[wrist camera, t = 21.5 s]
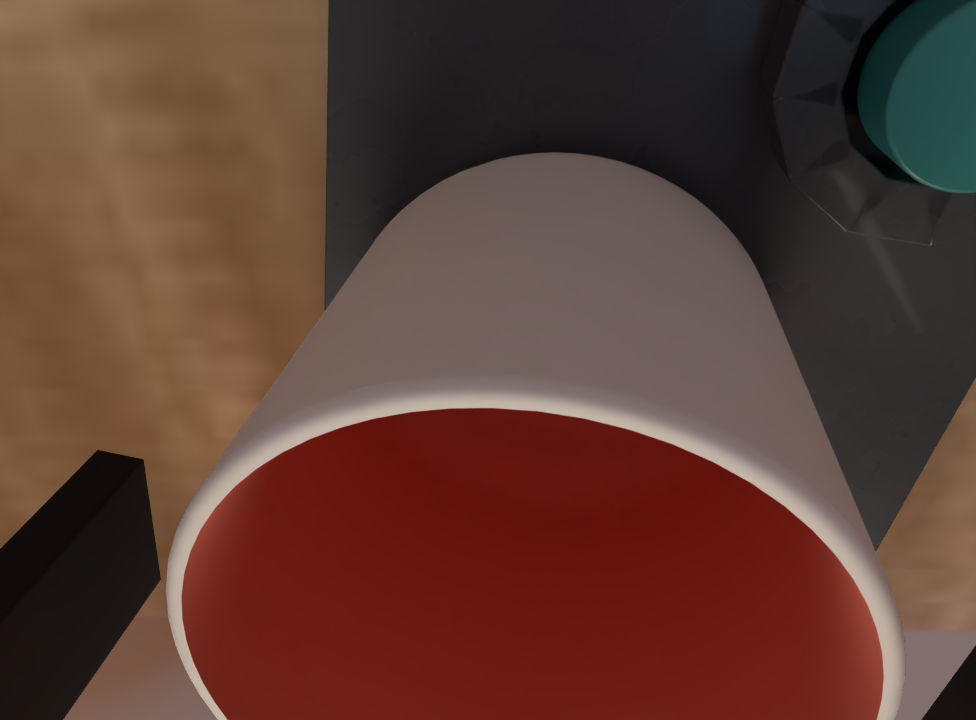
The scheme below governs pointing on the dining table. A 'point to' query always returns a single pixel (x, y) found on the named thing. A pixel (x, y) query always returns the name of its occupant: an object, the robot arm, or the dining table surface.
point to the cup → (538, 483)
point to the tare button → (925, 93)
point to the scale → (690, 175)
